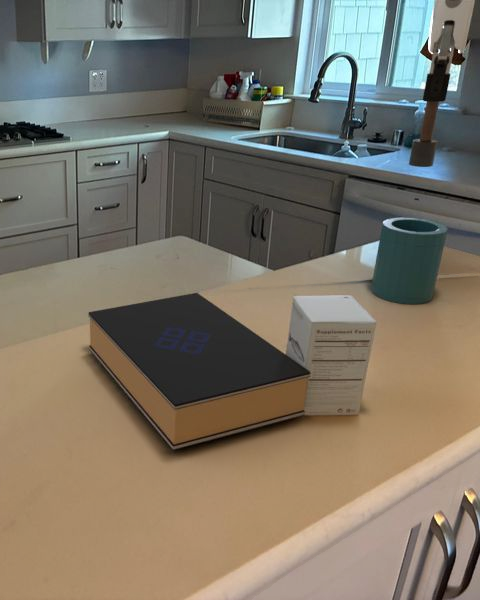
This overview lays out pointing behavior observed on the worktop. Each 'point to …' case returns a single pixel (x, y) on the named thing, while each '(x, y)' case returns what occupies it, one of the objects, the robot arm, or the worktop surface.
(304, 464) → the worktop surface
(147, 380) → the book
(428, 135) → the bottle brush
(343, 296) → the white packaging box
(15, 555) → the worktop surface
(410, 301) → the teal pen holder
